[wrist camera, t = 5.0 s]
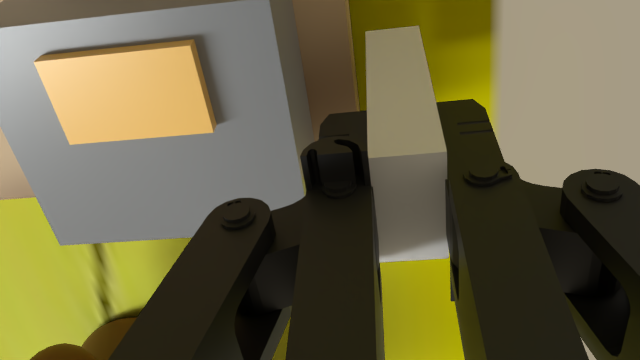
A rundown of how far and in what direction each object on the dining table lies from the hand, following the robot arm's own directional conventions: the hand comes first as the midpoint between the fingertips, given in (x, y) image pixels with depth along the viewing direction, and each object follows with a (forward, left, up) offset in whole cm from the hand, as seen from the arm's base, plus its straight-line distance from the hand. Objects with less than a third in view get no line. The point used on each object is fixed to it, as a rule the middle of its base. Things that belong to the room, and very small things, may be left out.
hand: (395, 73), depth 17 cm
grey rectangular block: (-6, +2, -1) cm, 7 cm away
